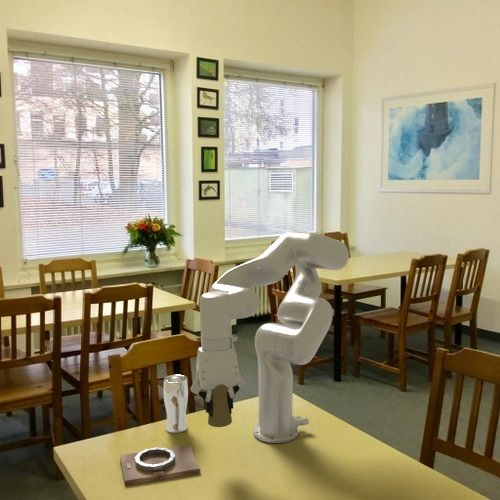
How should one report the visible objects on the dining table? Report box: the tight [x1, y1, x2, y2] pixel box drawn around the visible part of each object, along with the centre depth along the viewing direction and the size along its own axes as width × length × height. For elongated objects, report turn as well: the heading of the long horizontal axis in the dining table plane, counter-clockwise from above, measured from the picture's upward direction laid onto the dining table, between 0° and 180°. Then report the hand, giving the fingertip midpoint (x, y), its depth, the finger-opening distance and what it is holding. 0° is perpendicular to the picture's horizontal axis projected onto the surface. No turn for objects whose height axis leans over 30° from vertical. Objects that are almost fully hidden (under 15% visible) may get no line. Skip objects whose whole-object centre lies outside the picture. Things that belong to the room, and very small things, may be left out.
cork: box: [207, 384, 233, 428], centre depth 138 cm, size 6×6×11 cm
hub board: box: [119, 444, 201, 486], centre depth 138 cm, size 18×13×1 cm
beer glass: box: [163, 374, 189, 434], centre depth 159 cm, size 7×7×15 cm
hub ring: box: [135, 446, 175, 472], centre depth 138 cm, size 10×10×2 cm
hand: (219, 412), depth 138 cm, fingers closed on cork, 4 cm apart
